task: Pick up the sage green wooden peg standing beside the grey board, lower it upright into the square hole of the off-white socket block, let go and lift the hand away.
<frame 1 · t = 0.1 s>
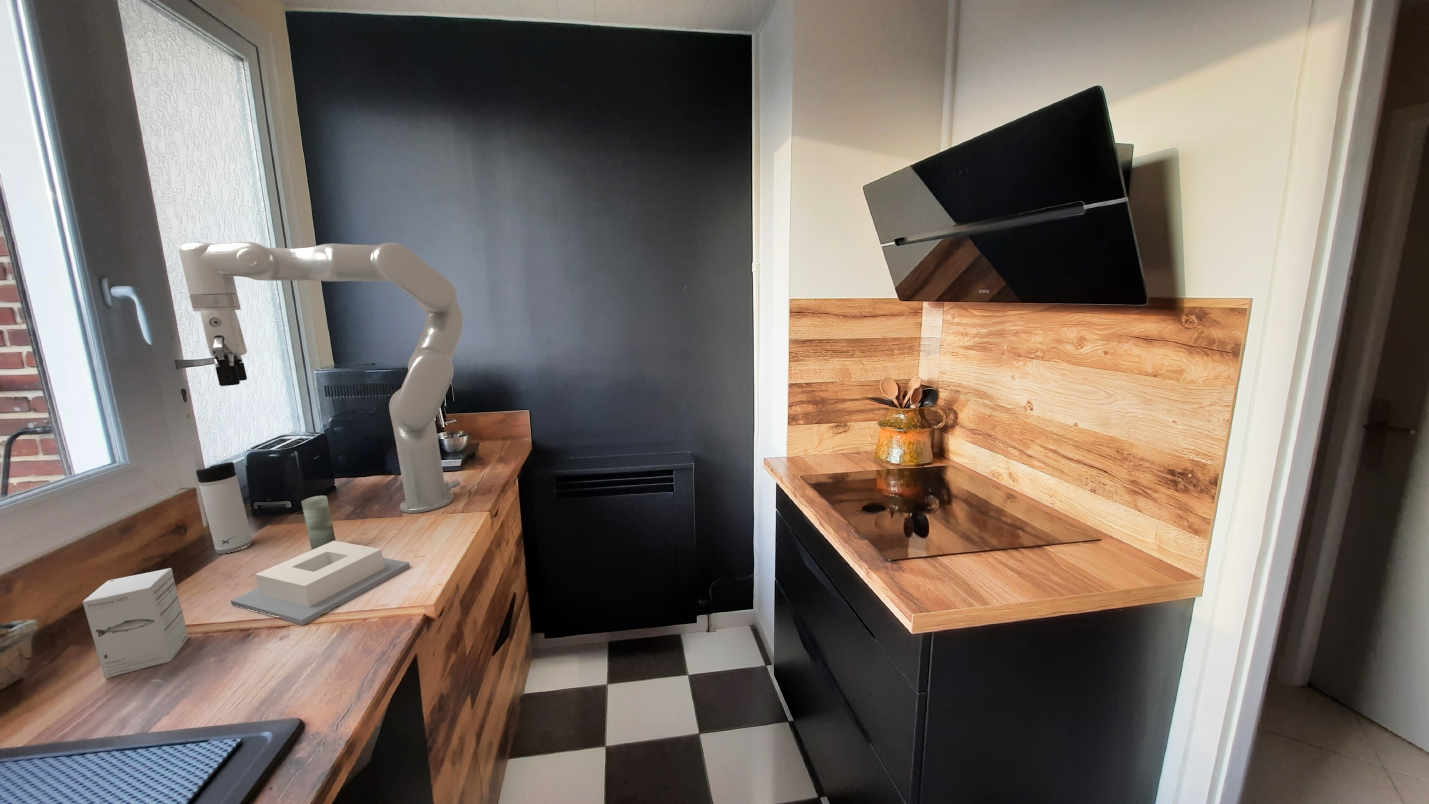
hand: (234, 382, 115), 37 cm above the worktop, tool pointing down, fingers open, 9 cm apart
supplement box: (150, 658, 81), on the worktop
socket block: (325, 585, 100), on the worktop
travel mug: (235, 548, 119), on the worktop
peg: (325, 550, 115), on the worktop
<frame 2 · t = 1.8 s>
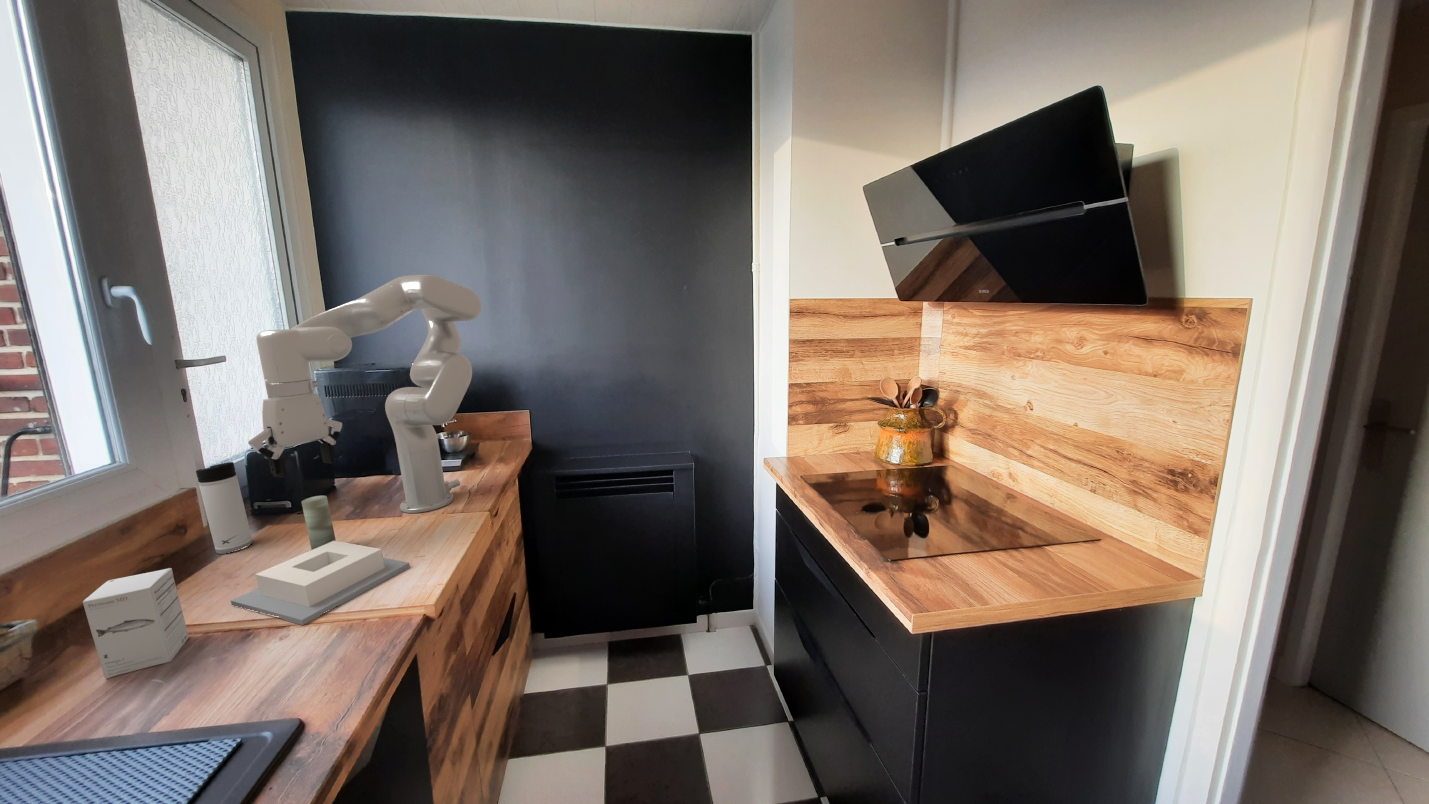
hand: (305, 469, 111), 19 cm above the worktop, tool pointing down, fingers open, 9 cm apart
nothing on the worktop moved.
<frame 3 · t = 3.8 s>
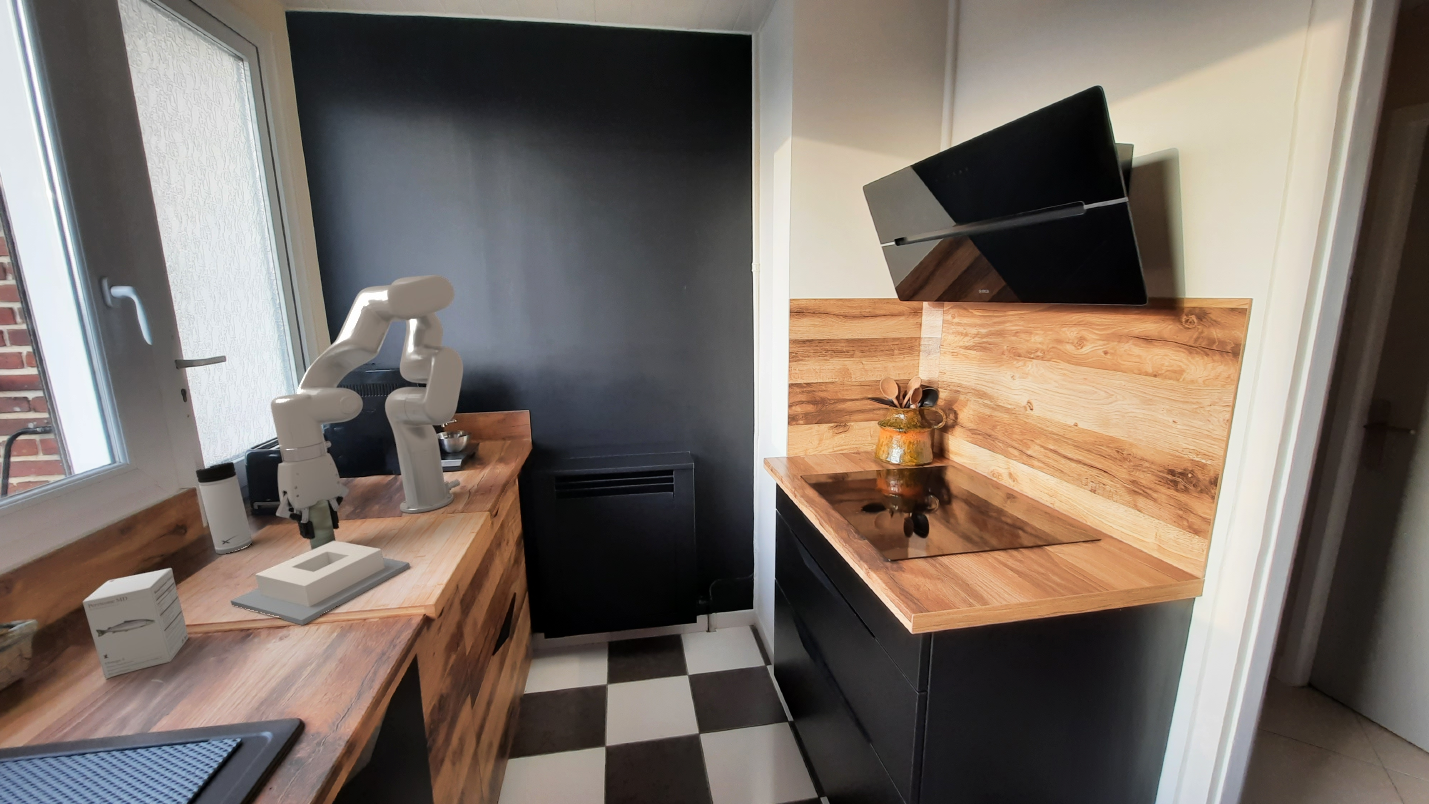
hand: (321, 532, 114), 4 cm above the worktop, tool pointing down, fingers closed on peg, 4 cm apart
peg: (325, 550, 115), on the worktop, touching gripper
everything else where it was.
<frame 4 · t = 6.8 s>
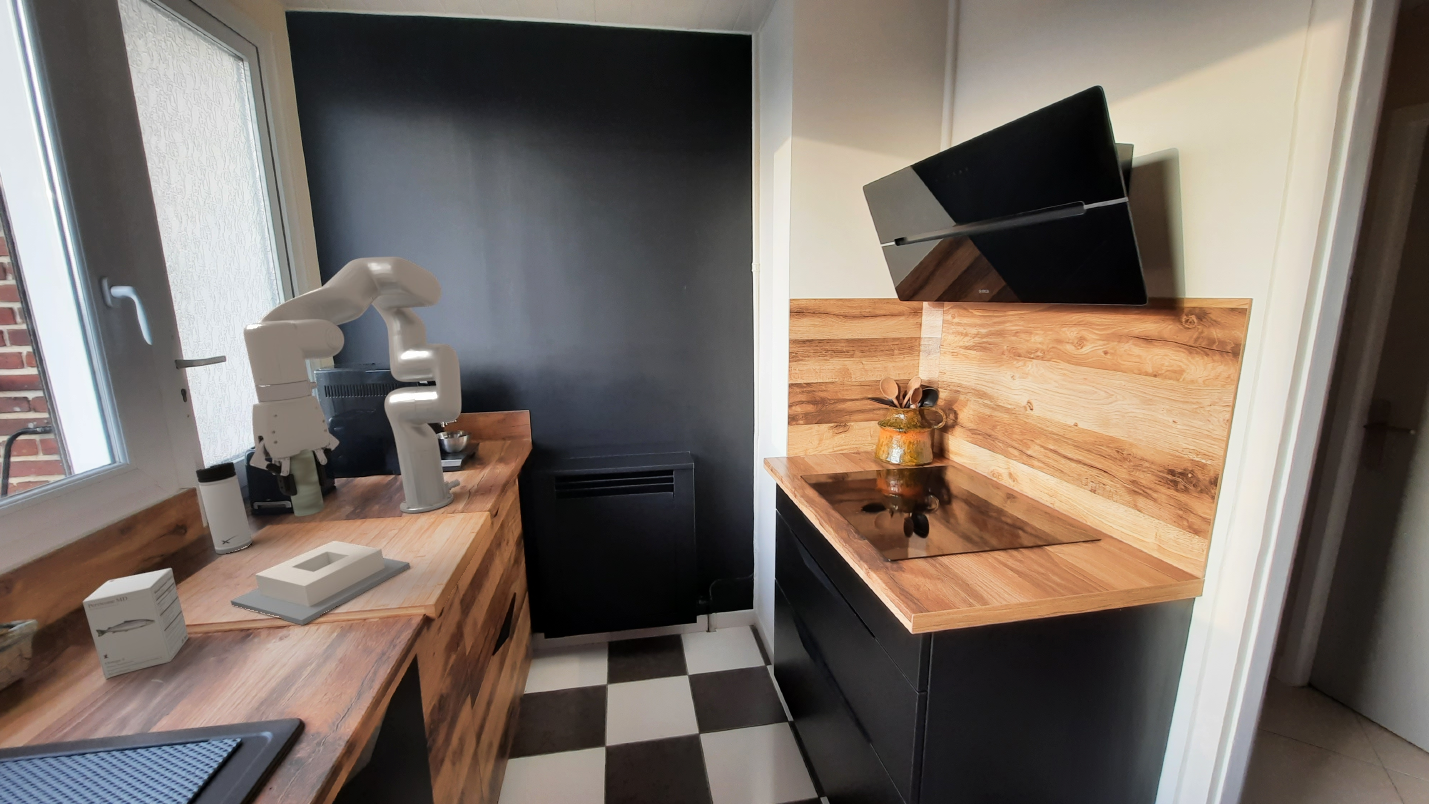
hand: (305, 489, 96), 19 cm above the worktop, tool pointing down, fingers closed on peg, 4 cm apart
peg: (309, 511, 97), point 15 cm above the worktop, touching gripper
everything else where it was.
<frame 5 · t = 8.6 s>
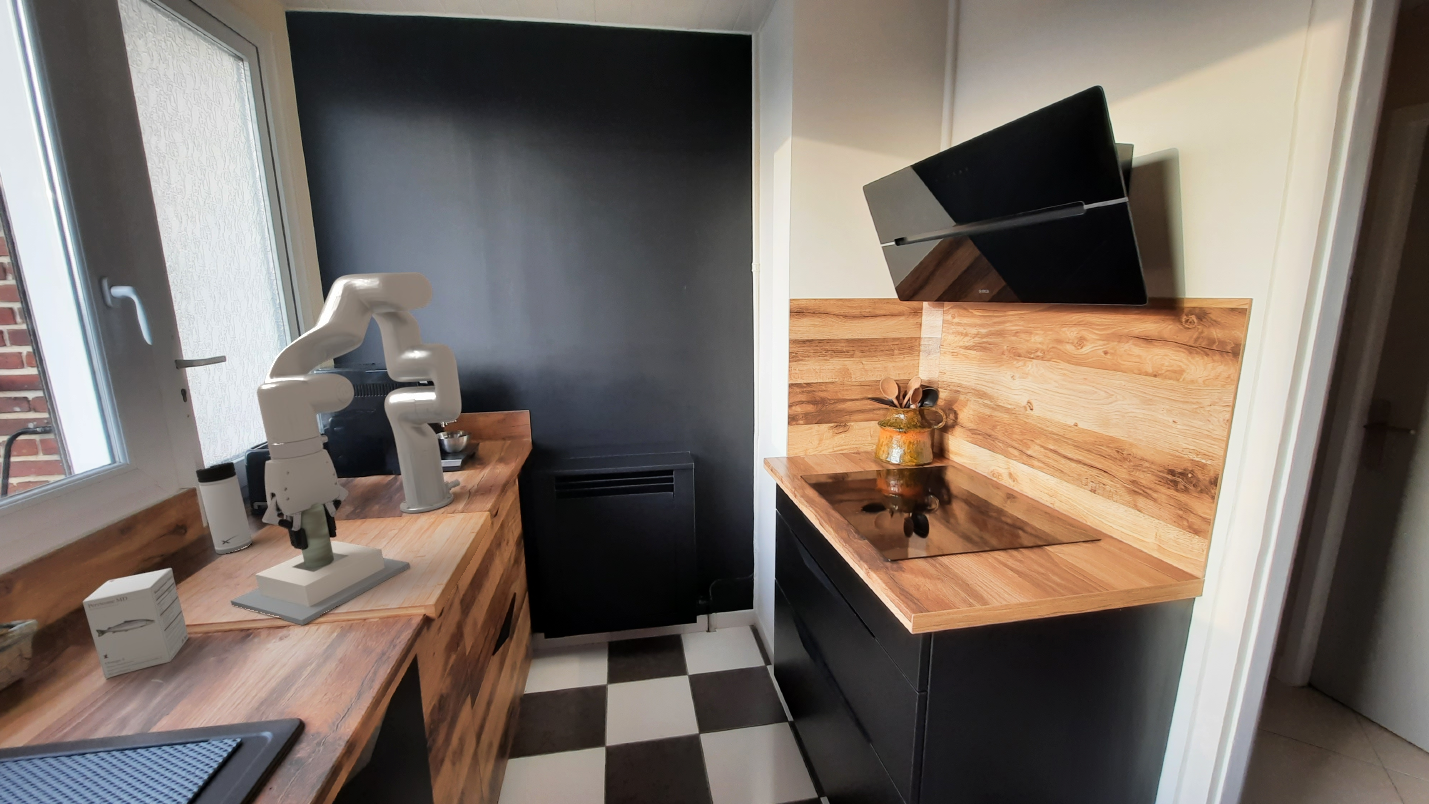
hand: (315, 541, 98), 9 cm above the worktop, tool pointing down, fingers closed on peg, 4 cm apart
peg: (319, 562, 99), point 5 cm above the worktop, touching gripper
everything else where it was.
when the fingers open (6 cm above the worktop, at t = 10.0 s): peg stays where it is, resting on socket block.
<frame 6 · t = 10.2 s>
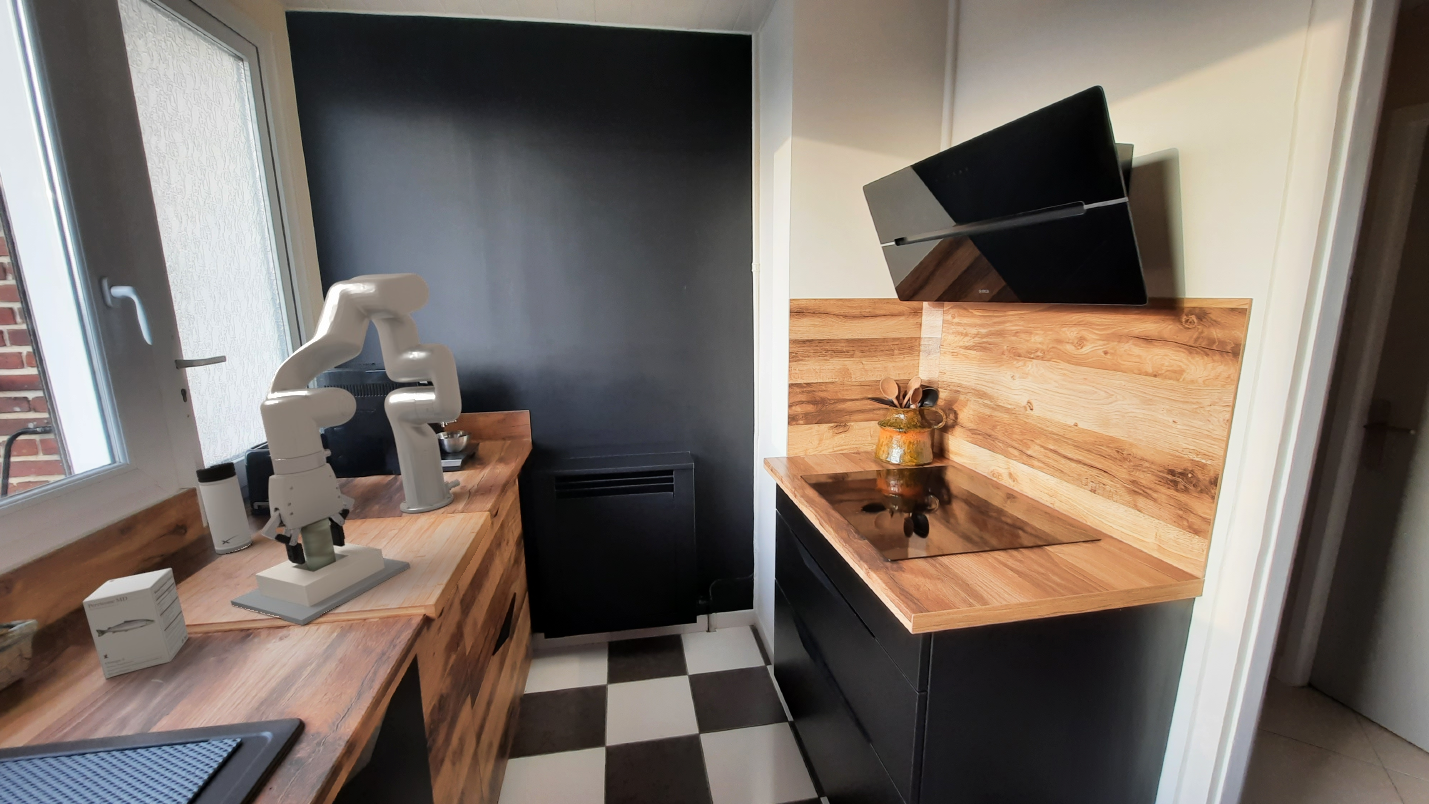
hand: (318, 553, 99), 7 cm above the worktop, tool pointing down, fingers open, 6 cm apart
peg: (324, 580, 100), point 1 cm above the worktop, touching socket block
everything else where it was.
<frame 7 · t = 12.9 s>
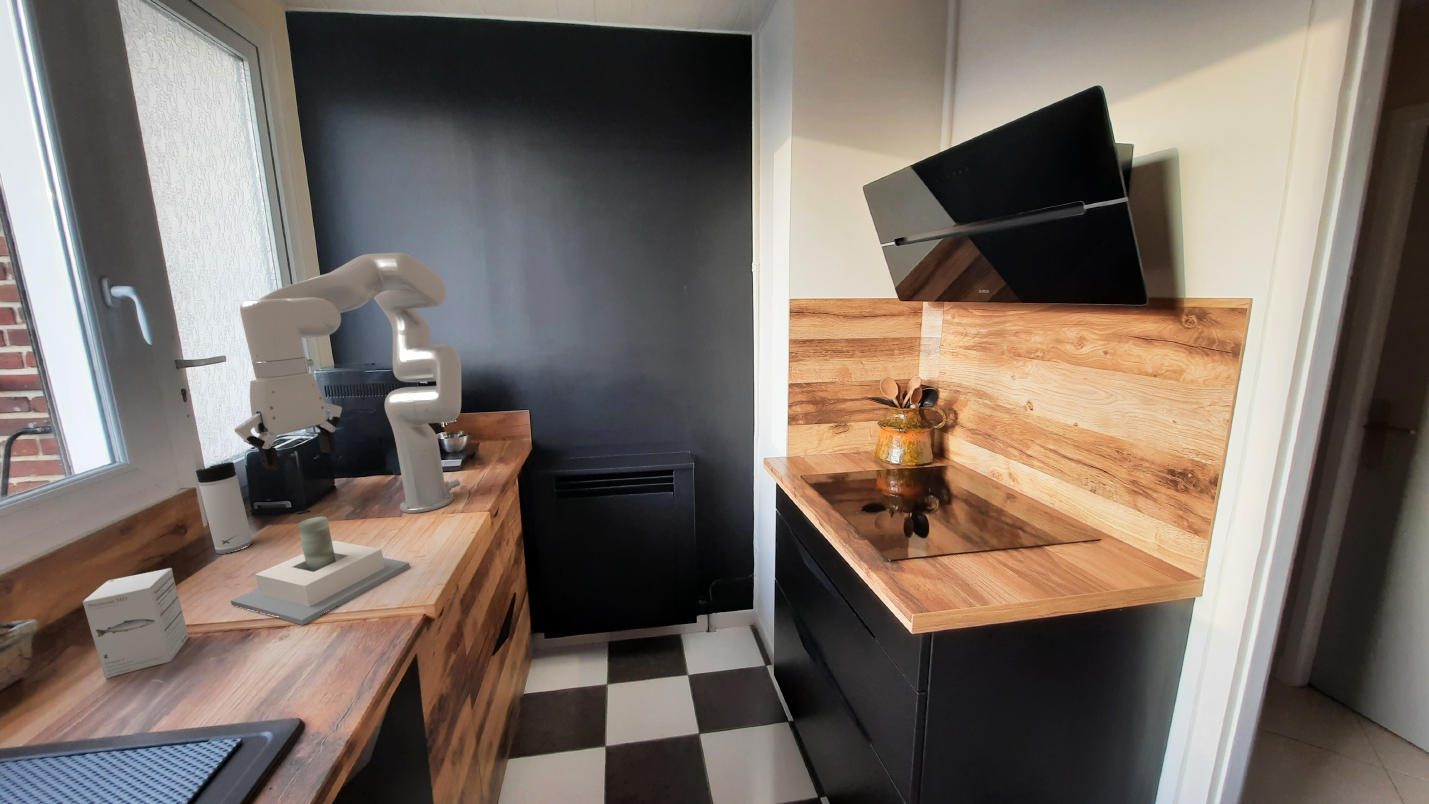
hand: (301, 460, 98), 24 cm above the worktop, tool pointing down, fingers open, 9 cm apart
nothing on the worktop moved.
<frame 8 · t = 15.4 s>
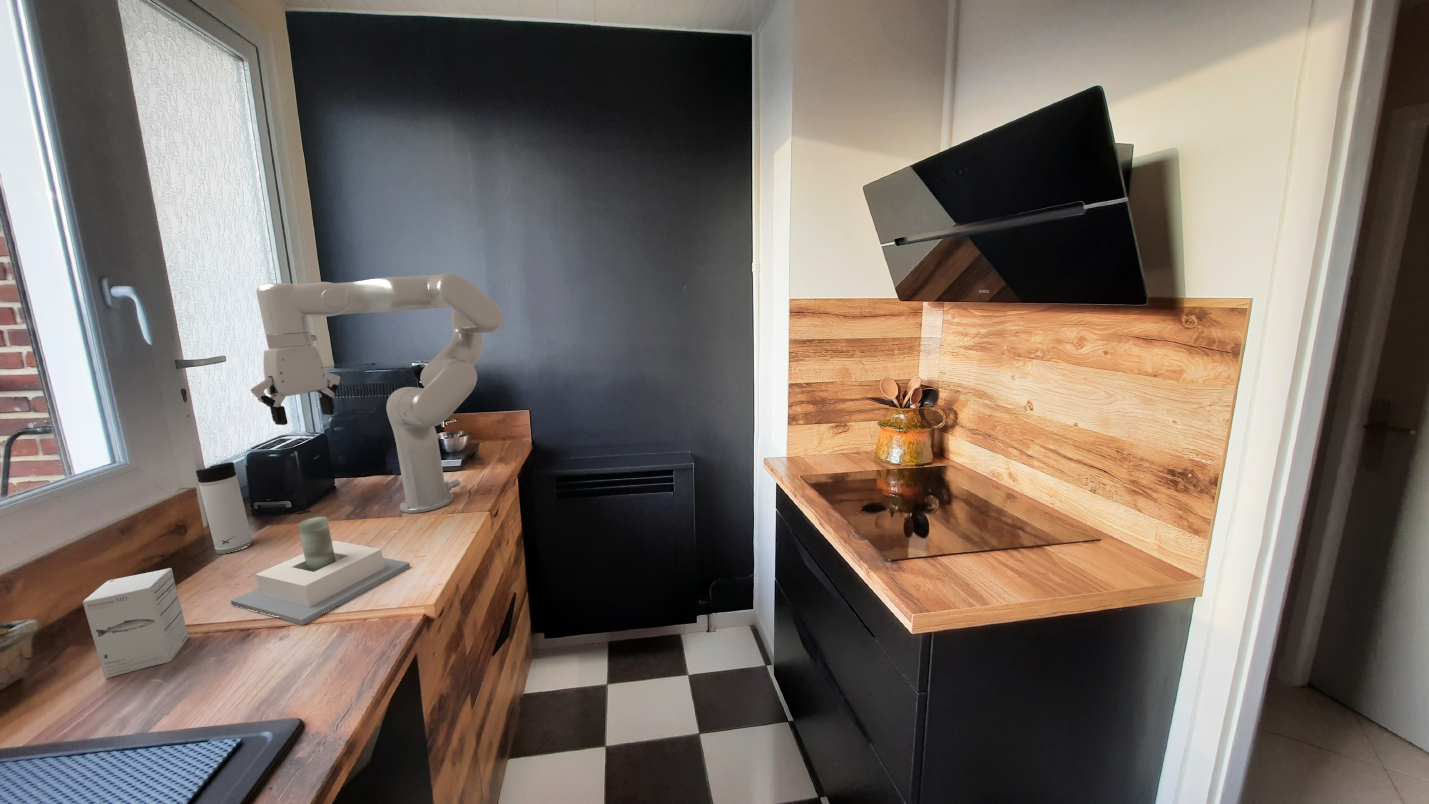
hand: (305, 419, 116), 28 cm above the worktop, tool pointing down, fingers open, 9 cm apart
nothing on the worktop moved.
at the end: peg 0.1 cm off-centre on the socket block, point 1.0 cm above the socket block's base; peg tilted 0°; the gripper is holding nothing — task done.
